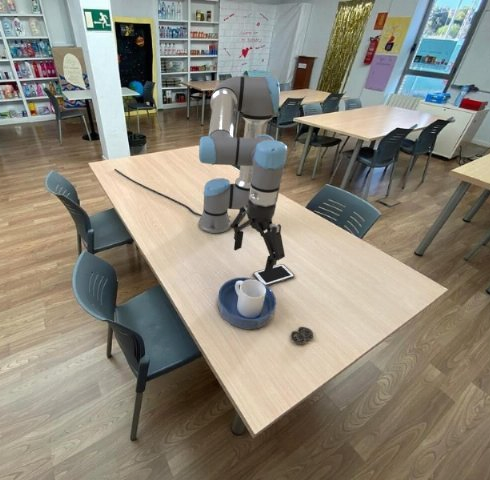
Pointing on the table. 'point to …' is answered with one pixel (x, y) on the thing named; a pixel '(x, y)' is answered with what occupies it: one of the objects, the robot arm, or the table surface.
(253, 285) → the mug
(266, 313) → the bowl
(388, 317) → the table surface
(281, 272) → the cell phone
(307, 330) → the corroded twin loop
